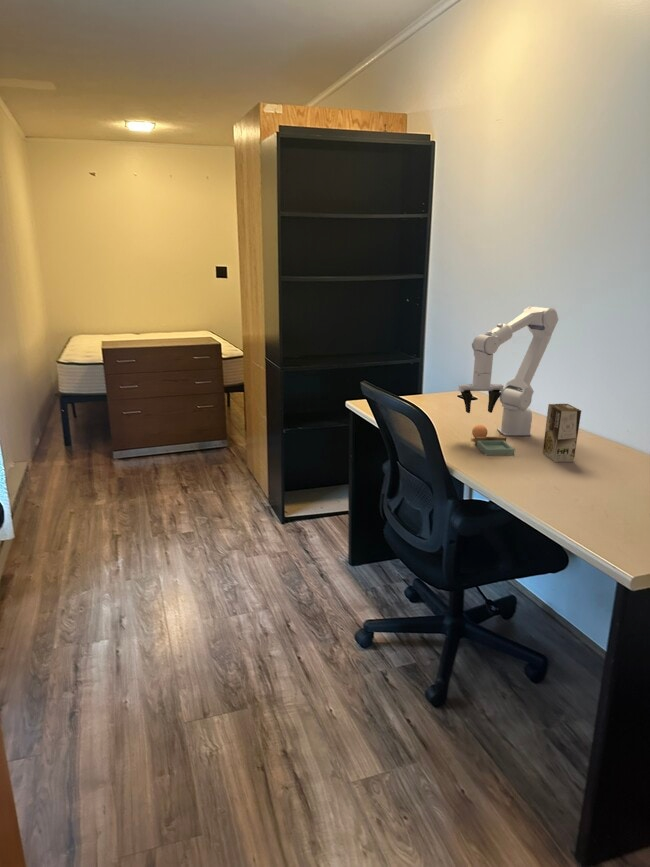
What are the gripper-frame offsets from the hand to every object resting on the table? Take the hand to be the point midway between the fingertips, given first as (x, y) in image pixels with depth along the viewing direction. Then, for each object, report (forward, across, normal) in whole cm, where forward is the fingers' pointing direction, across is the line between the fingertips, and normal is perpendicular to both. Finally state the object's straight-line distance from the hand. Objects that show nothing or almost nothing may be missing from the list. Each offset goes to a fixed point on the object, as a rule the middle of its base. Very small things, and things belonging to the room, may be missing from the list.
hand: (478, 412), depth 197 cm
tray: (+9, -2, +12) cm, 15 cm away
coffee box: (+10, -19, +20) cm, 29 cm away
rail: (+9, -2, +6) cm, 11 cm away
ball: (+9, -1, +1) cm, 9 cm away
